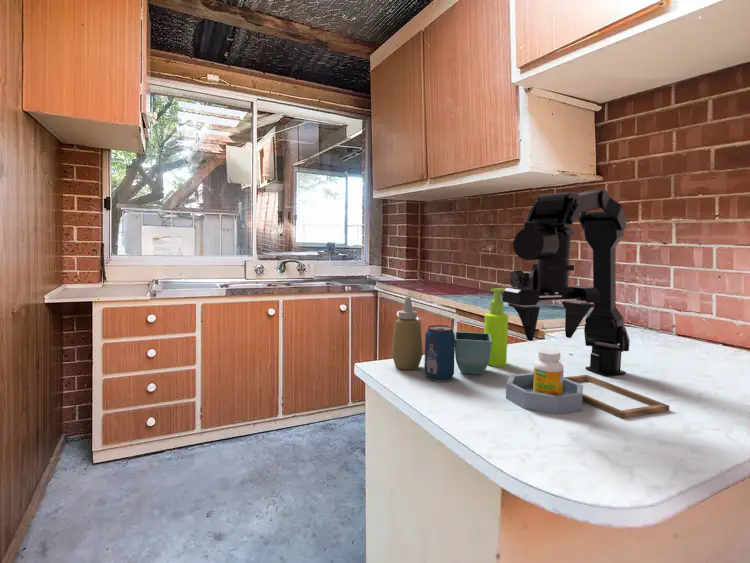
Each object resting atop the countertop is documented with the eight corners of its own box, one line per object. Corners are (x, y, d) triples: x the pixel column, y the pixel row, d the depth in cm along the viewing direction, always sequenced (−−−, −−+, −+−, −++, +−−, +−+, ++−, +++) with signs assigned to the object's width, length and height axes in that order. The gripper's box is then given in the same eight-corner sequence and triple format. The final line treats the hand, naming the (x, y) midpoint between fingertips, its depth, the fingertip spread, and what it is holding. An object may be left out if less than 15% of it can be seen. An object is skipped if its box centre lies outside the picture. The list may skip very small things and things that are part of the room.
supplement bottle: (529, 400, 82) (531, 352, 82) (536, 392, 87) (538, 346, 86) (559, 406, 79) (561, 356, 79) (564, 398, 84) (566, 350, 83)
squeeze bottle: (389, 362, 111) (390, 295, 109) (419, 362, 112) (420, 295, 110) (393, 372, 103) (394, 299, 101) (425, 371, 104) (427, 299, 102)
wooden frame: (586, 378, 99) (586, 374, 99) (669, 410, 80) (669, 405, 80) (544, 383, 95) (544, 379, 95) (621, 418, 76) (621, 413, 76)
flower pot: (491, 378, 99) (492, 340, 98) (453, 375, 101) (454, 338, 100) (488, 367, 108) (489, 333, 107) (453, 365, 109) (454, 331, 108)
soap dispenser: (506, 368, 107) (509, 290, 105) (480, 364, 110) (482, 288, 109) (512, 363, 112) (515, 288, 110) (487, 359, 115) (489, 286, 114)
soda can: (453, 373, 102) (454, 325, 101) (454, 383, 95) (455, 331, 94) (424, 372, 103) (425, 324, 102) (423, 381, 96) (424, 329, 95)
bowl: (547, 385, 94) (548, 371, 94) (598, 408, 81) (599, 392, 81) (494, 391, 90) (494, 376, 90) (538, 416, 77) (539, 399, 76)
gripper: (561, 257, 91) (558, 328, 93) (487, 257, 85) (485, 333, 87) (604, 259, 81) (599, 339, 82) (523, 259, 75) (519, 345, 76)
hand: (549, 339), depth 82 cm, fingers open, 9 cm apart
